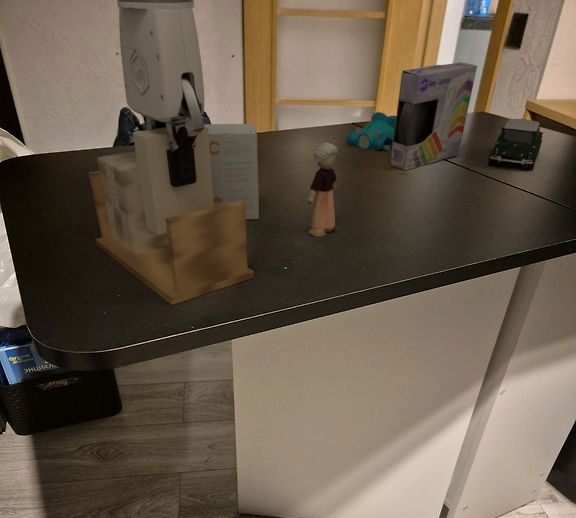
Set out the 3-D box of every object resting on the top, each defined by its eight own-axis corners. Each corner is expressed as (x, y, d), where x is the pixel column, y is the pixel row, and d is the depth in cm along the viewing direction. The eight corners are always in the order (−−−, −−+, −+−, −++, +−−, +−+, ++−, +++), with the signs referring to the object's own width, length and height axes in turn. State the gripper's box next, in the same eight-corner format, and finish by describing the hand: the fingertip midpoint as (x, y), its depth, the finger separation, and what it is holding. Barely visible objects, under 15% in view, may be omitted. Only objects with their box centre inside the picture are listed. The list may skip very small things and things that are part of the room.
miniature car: (538, 152, 122) (549, 113, 117) (531, 173, 109) (543, 130, 104) (497, 148, 125) (506, 109, 120) (485, 167, 112) (495, 125, 107)
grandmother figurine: (326, 241, 80) (332, 150, 72) (302, 237, 81) (305, 147, 73) (341, 223, 86) (348, 138, 78) (318, 220, 87) (323, 135, 79)
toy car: (343, 144, 126) (345, 112, 122) (387, 131, 137) (390, 102, 132) (381, 152, 120) (385, 120, 116) (424, 139, 131) (429, 108, 127)
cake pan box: (402, 172, 108) (417, 71, 98) (384, 166, 111) (396, 68, 101) (460, 157, 118) (479, 64, 108) (442, 152, 121) (458, 61, 111)
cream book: (158, 235, 65) (144, 137, 58) (146, 228, 67) (132, 132, 60) (214, 221, 69) (208, 127, 62) (202, 214, 71) (194, 122, 64)
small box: (257, 206, 91) (255, 122, 83) (259, 220, 86) (257, 132, 78) (208, 207, 91) (202, 123, 83) (208, 221, 86) (201, 132, 78)
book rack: (171, 305, 64) (158, 204, 57) (96, 245, 77) (77, 157, 70) (254, 278, 70) (251, 183, 63) (170, 227, 83) (160, 144, 76)
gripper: (85, -13, 56) (116, 170, 68) (160, -8, 46) (182, 206, 57) (150, -13, 60) (170, 160, 71) (232, -8, 50) (240, 192, 61)
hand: (175, 179), depth 64 cm, fingers closed on cream book, 3 cm apart
